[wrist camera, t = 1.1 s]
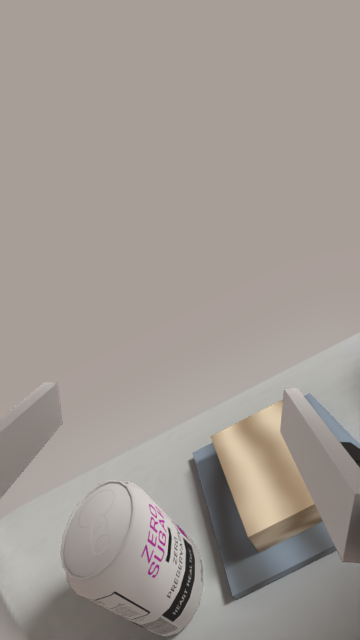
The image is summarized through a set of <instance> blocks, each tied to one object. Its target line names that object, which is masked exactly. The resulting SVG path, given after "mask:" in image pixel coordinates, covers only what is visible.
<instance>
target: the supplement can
mask: <svg viewBox="0 0 360 640" xmlns="http://www.w3.org/2000/svg"><path fill="white" fill-rule="evenodd" d="M61 559H62V565H63V568H64V569H65V571H66V575H67V580H68V583H69V584H70V586H71V587H72V588H73V590H74V591H75V593H76V594H77V595H79V596H81V597H83V598H85V599H87V600H89V601H91V602H93V603H95V604H97V605H99V606H101V607H103V608H105V609H107V610H109V611H111V612H113V613H115V614H117V615H119V616H121V617H123V618H125V619H127V620H129V621H131V622H133V623H135V624H137V625H139V626H141V627H143V628H145V629H147V630H149V631H151V632H152V633H155V634H158V635H161V636H164V637H166V636H170V635H173V634H176V633H179V632H180V631H181V630H182V629H183V628H184V627H185V626H186V625H187V624H188V623H189V622H191V620H192V618H193V616H194V614H195V612H196V610H197V608H198V606H199V604H200V600H201V595H202V591H203V586H204V568H203V563H202V560H201V556H200V552H199V550H198V549H197V547H196V546H195V544H194V542H193V541H192V540H191V539H190V538H189V537H188V536H187V535H186V534H185V533H184V532H183V531H182V530H181V529H180V528H179V527H178V526H177V525H176V524H175V522H174V521H173V520H172V519H171V518H170V517H169V516H168V515H167V514H166V513H165V512H164V511H163V510H162V509H161V508H160V507H159V506H158V505H157V504H156V503H155V502H154V501H153V500H152V499H151V498H150V497H149V496H148V495H147V494H146V493H145V492H144V491H143V490H142V489H141V488H140V487H138V486H137V485H135V484H133V483H132V482H122V481H114V480H109V481H107V482H104V483H102V484H99V485H98V486H96V487H95V488H94V489H92V490H91V491H90V492H88V493H87V494H86V496H85V497H84V498H83V499H82V500H81V501H80V503H79V504H78V505H77V507H76V508H75V510H74V512H73V513H72V515H71V517H70V518H69V521H68V523H67V526H66V529H65V531H64V534H63V538H62V546H61Z"/></svg>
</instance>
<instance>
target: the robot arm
mask: <svg viewBox="0 0 360 640" xmlns="http://www.w3.org/2000/svg"><path fill="white" fill-rule="evenodd" d="M62 424H63V421H62V414H61V405H60V398H59V390H58V383H57V382H45V383H43V384H42V385H41V386H40V387H38V388H37V389H36V390H35V391H33V392H32V393H31V394H30V395H28V396H27V397H26V398H25V399H24V400H22V401H21V402H20V403H18V404H17V405H16V406H15V407H13V408H12V409H11V410H10V411H8V412H7V413H6V414H5V415H3V416H2V417H1V418H0V498H1V497H2V496H3V495H4V494H5V493H6V491H7V490H8V489H9V488H10V487H11V485H12V484H13V483H14V482H15V480H16V479H17V478H18V477H19V476H20V474H21V473H22V472H23V471H24V469H25V468H26V467H27V466H28V465H29V463H30V462H31V461H32V460H33V459H34V458H35V456H36V455H37V454H38V453H39V451H40V450H41V449H42V448H43V447H44V445H45V444H46V443H47V442H48V440H49V439H50V438H51V437H52V436H53V435H54V433H55V432H56V431H57V430H58V428H59V427H60V426H61V425H62ZM280 433H281V435H282V437H283V439H284V441H285V443H286V445H287V447H288V449H289V451H290V453H291V456H292V458H293V460H294V462H295V464H296V466H297V468H298V470H299V472H300V474H301V476H302V478H303V481H304V483H305V485H306V487H307V489H308V491H309V493H310V495H311V497H312V499H313V501H314V503H315V506H316V508H317V510H318V512H319V514H320V516H321V518H322V520H323V522H324V524H325V526H326V528H327V531H328V533H329V535H330V537H331V539H332V541H333V543H334V545H335V547H336V549H337V551H338V553H339V556H340V558H341V560H342V562H353V563H360V449H359V448H358V447H357V446H355V445H354V444H352V443H351V442H339V441H338V439H337V438H336V437H335V435H334V434H333V433H332V432H331V430H330V429H329V428H328V426H327V425H326V424H325V423H324V421H323V420H322V419H321V417H320V416H319V415H318V414H317V412H316V411H315V410H314V409H313V407H312V406H311V405H310V403H309V402H308V401H307V400H306V398H305V397H304V396H303V394H302V393H301V392H300V391H299V389H287V388H284V394H283V405H282V415H281V426H280Z"/></svg>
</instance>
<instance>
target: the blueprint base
mask: <svg viewBox="0 0 360 640" xmlns="http://www.w3.org/2000/svg"><path fill="white" fill-rule="evenodd" d="M304 397H305V398H306V400H307V401H308V402H309V403H310V405H311V406H312V407H313V409H314V410H315V411H316V412H317V414H318V415H319V416H320V417H321V419H322V420H323V421H324V423H325V424H326V425H327V426H328V428H329V429H330V430H331V432H332V433H333V434H334V435H335V437H336V438H337V439H338V441H339V442H351V443H352V444H354V445H355V446H357V447H358V448H359V449H360V444H359V443H358V442H357V441H356V440H355V439H354V438H353V437H352V436H351V435H350V434H349V433H348V432H347V431H346V430H345V429H344V428H343V427H342V426H341V425H340V424H339V423H338V422H337V421H336V420H335V419H334V418H333V417H332V416H331V415H330V413H329V412H328V411H327V410H326V409H325V408H324V407H323V406H322V405H321V404H320V403H319V402H318V401H317V400H316V399H315V398H314V397H313V396H312V395H311V394H310V393H309V394H307V395H306V396H304ZM282 405H283V400H281V401H279V402H277V403H275V404H273V405H271V406H269V407H267V408H265V409H263V410H261V411H259V412H258V413H256V414H254V415H252V416H250V417H248V418H246V419H244V420H242V421H240V422H238V423H236V424H234V425H232V426H230V427H228V428H226V429H224V430H222V431H220V432H218V433H216V434H214V435H212V436H211V439H212V442H213V443H211V444H209V445H207V446H205V447H203V448H201V449H199V450H197V451H195V452H193V456H194V459H195V463H196V466H197V470H198V474H199V477H200V481H201V484H202V488H203V492H204V495H205V499H206V503H207V506H208V510H209V513H210V517H211V521H212V524H213V528H214V531H215V535H216V539H217V542H218V546H219V549H220V553H221V557H222V560H223V564H224V568H225V571H226V575H227V578H228V582H229V586H230V589H231V593H232V596H233V597H234V598H235V599H236V600H237V599H239V598H241V597H243V596H245V595H247V594H249V593H251V592H253V591H255V590H257V589H259V588H261V587H263V586H265V585H267V584H269V583H271V582H273V581H275V580H277V579H279V578H281V577H283V576H285V575H287V574H289V573H291V572H293V571H295V570H297V569H299V568H301V567H304V566H306V565H308V564H310V563H312V562H314V561H316V560H318V559H320V558H322V557H324V556H326V555H328V554H330V553H332V552H334V551H336V550H337V549H336V547H335V545H334V543H333V541H332V539H331V537H330V535H329V533H328V531H327V528H326V526H325V524H324V522H323V520H322V518H321V516H320V514H319V512H318V510H317V508H316V506H315V503H314V501H313V499H312V497H311V495H310V493H309V491H308V489H307V487H306V485H305V483H304V481H303V478H302V476H301V474H300V472H299V470H298V468H297V466H296V464H295V462H294V460H293V458H292V456H291V453H290V451H289V449H288V447H287V445H286V443H285V441H284V439H283V437H282V435H281V433H280V426H281V415H282Z"/></svg>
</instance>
